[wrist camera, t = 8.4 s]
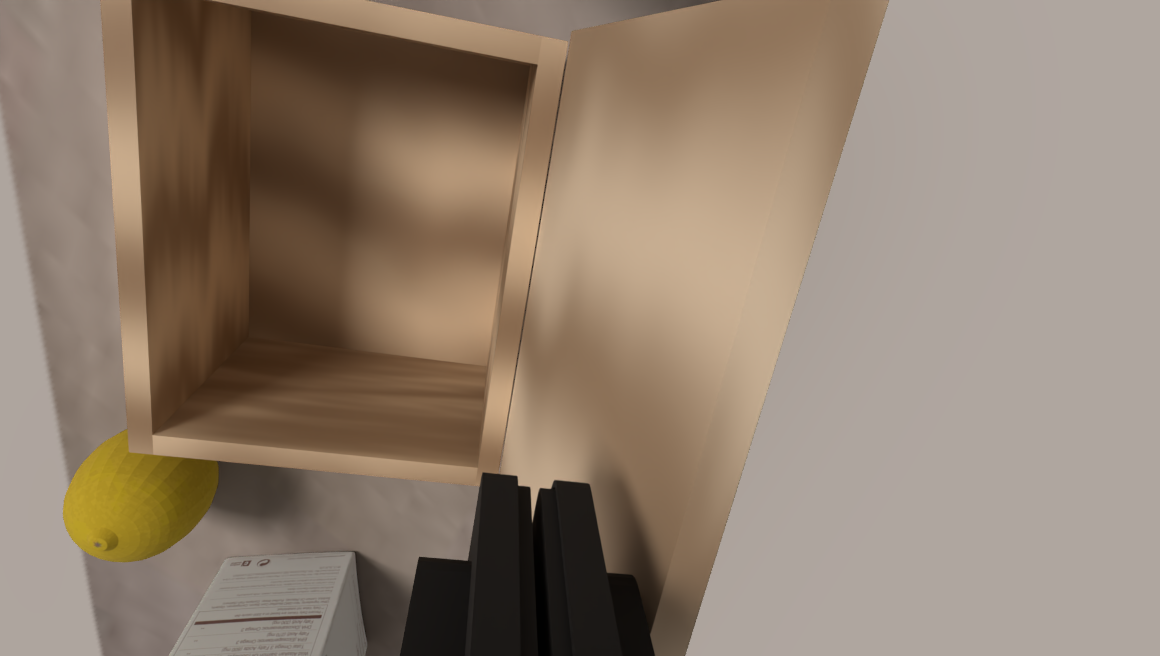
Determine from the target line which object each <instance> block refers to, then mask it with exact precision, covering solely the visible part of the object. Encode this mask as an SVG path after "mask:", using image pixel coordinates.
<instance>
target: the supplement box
mask: <svg viewBox="0 0 1160 656" xmlns="http://www.w3.org/2000/svg"><path fill="white" fill-rule="evenodd" d="M366 650H367V640H366V635H365V630H364V625H363V619H362V613H361V605H360V598H359V589H358V580H357V571H356V559H355V552H350V551H346V552H324V553H302V554H281V555H261V556H244V557H230V558H227V559H225V561H224V562H223V564H222V566H221V568H220V570H219V571H218V573H217V575H216V576H215V578H214V580H213V581H212V583H211V585H210V586H209V588H208V590H207V592H206V593H205V595H204V597H203V599H202V600H201V602H200V604H199V606H198V607H197V609H196V611H195V612H194V614H193V615H192V617H191V619H190V621H189V622H188V624H187V626H186V627H185V629H184V631H183V633H182V634H181V636H180V638H179V639H178V641H177V643H176V644H175V646H174V648H173V649H172V651H171V653H170V654H169V656H365V654H366Z"/></svg>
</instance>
